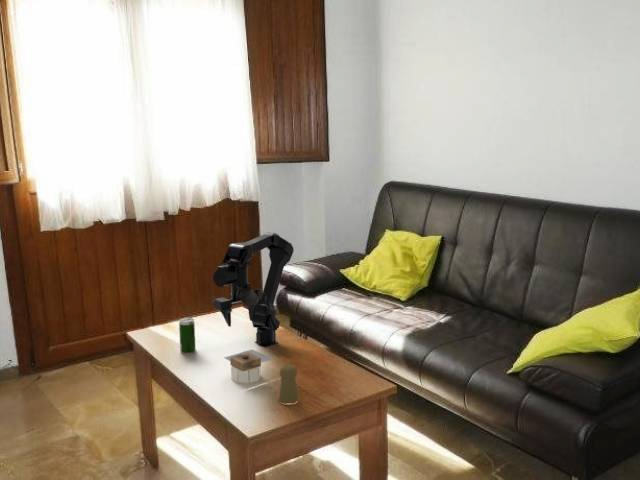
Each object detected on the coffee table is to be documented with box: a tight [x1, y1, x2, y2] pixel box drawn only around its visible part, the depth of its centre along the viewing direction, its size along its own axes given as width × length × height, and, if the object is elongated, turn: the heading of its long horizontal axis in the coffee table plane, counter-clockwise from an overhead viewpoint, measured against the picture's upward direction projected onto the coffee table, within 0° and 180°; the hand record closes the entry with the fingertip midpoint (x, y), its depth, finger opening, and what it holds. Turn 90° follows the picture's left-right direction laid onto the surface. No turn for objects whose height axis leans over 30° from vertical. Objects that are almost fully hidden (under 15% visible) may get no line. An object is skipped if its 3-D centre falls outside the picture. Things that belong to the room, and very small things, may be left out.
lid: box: [229, 352, 262, 371], centre depth 213 cm, size 7×7×3 cm
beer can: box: [178, 317, 197, 355], centre depth 235 cm, size 5×5×12 cm
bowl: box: [230, 365, 261, 384], centre depth 213 cm, size 9×9×4 cm
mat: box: [224, 348, 273, 363], centre depth 230 cm, size 12×12×1 cm
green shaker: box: [278, 364, 300, 404], centre depth 197 cm, size 6×6×11 cm
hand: (240, 323), depth 230 cm, fingers open, 9 cm apart
